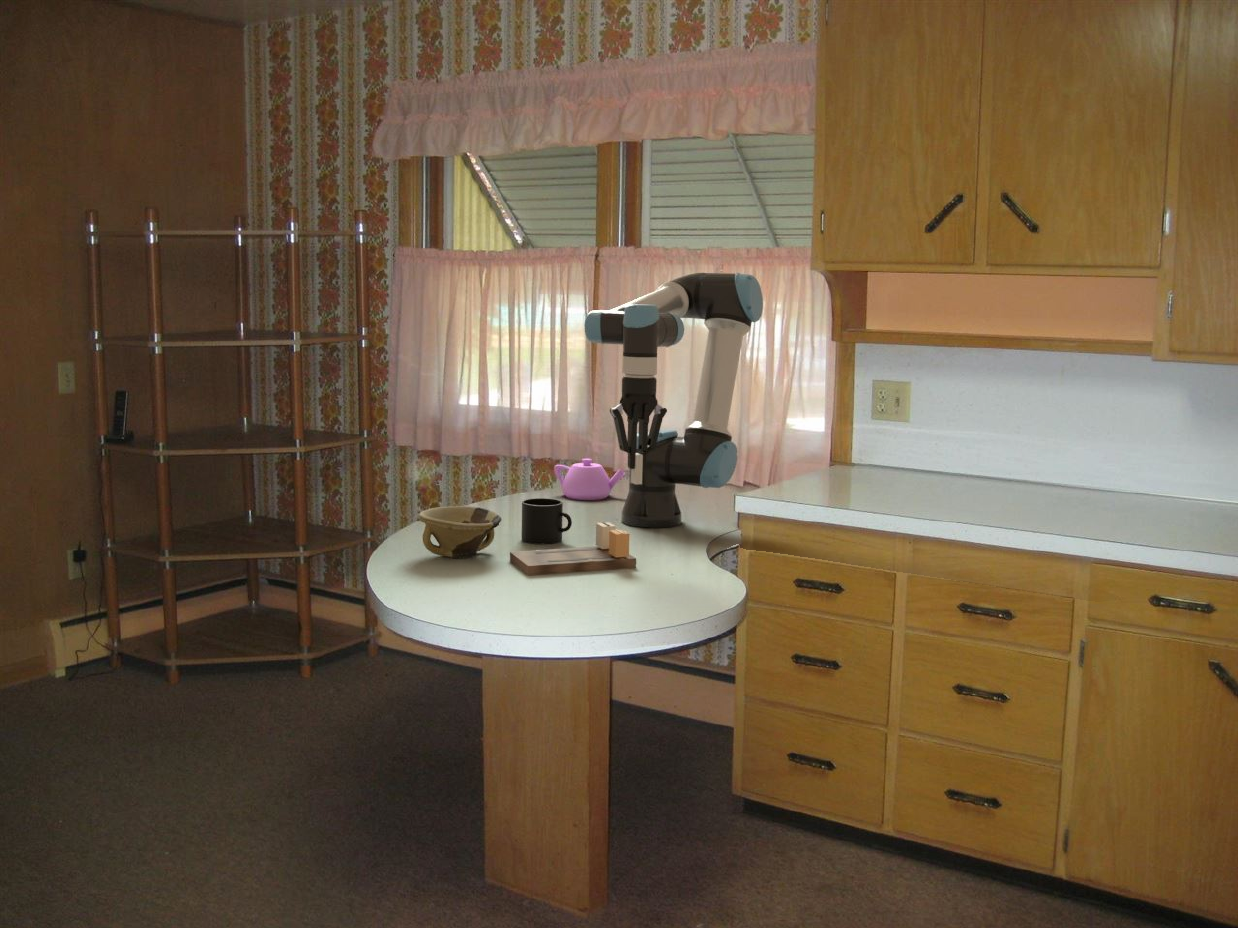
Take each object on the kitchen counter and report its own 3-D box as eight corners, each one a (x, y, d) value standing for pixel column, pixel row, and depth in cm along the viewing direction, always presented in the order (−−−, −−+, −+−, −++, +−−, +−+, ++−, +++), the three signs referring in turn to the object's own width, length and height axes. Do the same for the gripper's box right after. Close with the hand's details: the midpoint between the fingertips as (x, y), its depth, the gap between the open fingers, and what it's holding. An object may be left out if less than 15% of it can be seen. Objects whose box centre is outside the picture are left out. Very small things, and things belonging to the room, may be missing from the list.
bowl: (434, 568, 252) (434, 523, 250) (408, 550, 268) (408, 507, 266) (512, 561, 260) (513, 517, 258) (482, 543, 276) (483, 502, 274)
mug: (564, 547, 274) (564, 508, 273) (515, 542, 278) (515, 503, 276) (577, 538, 283) (578, 500, 282) (530, 534, 287) (530, 496, 285)
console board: (613, 553, 269) (613, 544, 268) (635, 567, 257) (636, 557, 256) (509, 560, 260) (510, 551, 259) (528, 575, 248) (528, 565, 248)
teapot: (621, 502, 329) (622, 464, 327) (549, 499, 332) (550, 461, 330) (627, 494, 343) (628, 456, 341) (558, 490, 345) (558, 453, 343)
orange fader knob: (621, 552, 260) (622, 528, 259) (628, 556, 256) (629, 532, 255) (608, 553, 259) (609, 529, 258) (615, 557, 255) (616, 533, 254)
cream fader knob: (608, 544, 267) (608, 521, 266) (615, 548, 264) (615, 525, 263) (595, 545, 266) (596, 522, 265) (602, 549, 262) (602, 525, 262)
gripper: (660, 374, 267) (656, 479, 271) (605, 374, 263) (602, 481, 266) (674, 377, 261) (670, 484, 264) (617, 377, 256) (614, 487, 259)
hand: (636, 483), depth 265 cm, fingers closed
